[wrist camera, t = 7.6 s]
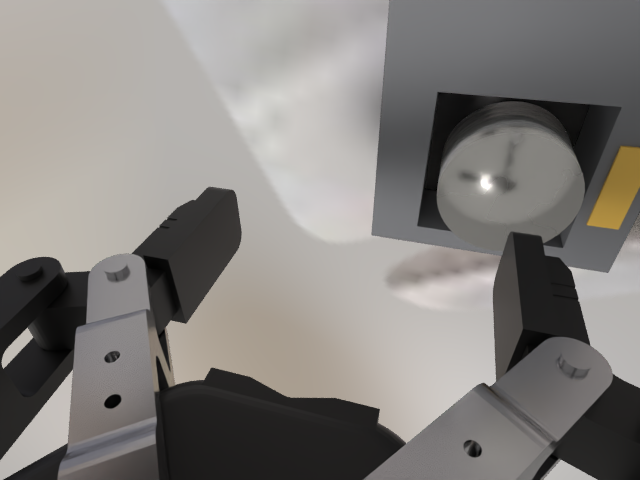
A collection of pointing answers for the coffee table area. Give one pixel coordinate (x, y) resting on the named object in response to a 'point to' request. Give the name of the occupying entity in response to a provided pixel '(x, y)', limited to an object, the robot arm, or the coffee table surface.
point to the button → (508, 175)
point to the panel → (514, 82)
